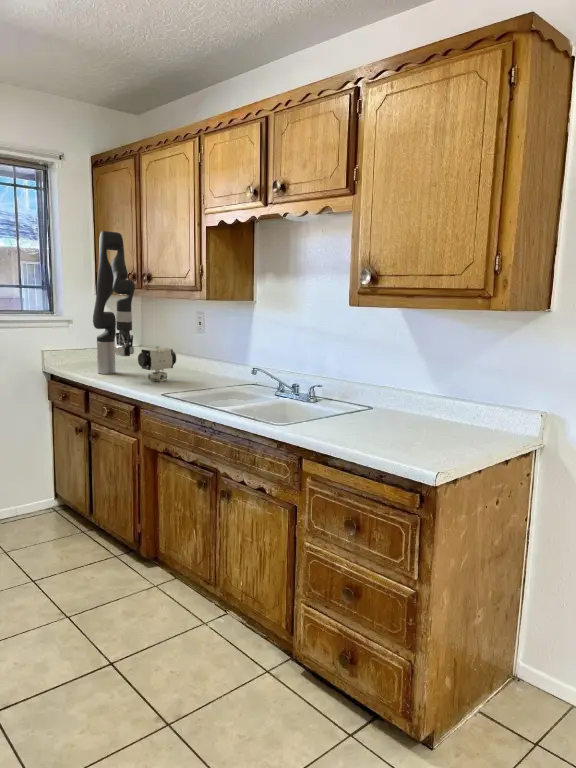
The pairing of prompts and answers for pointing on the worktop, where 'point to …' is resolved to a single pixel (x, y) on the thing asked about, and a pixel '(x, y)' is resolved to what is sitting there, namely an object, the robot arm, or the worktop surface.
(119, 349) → the coupling
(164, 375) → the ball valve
